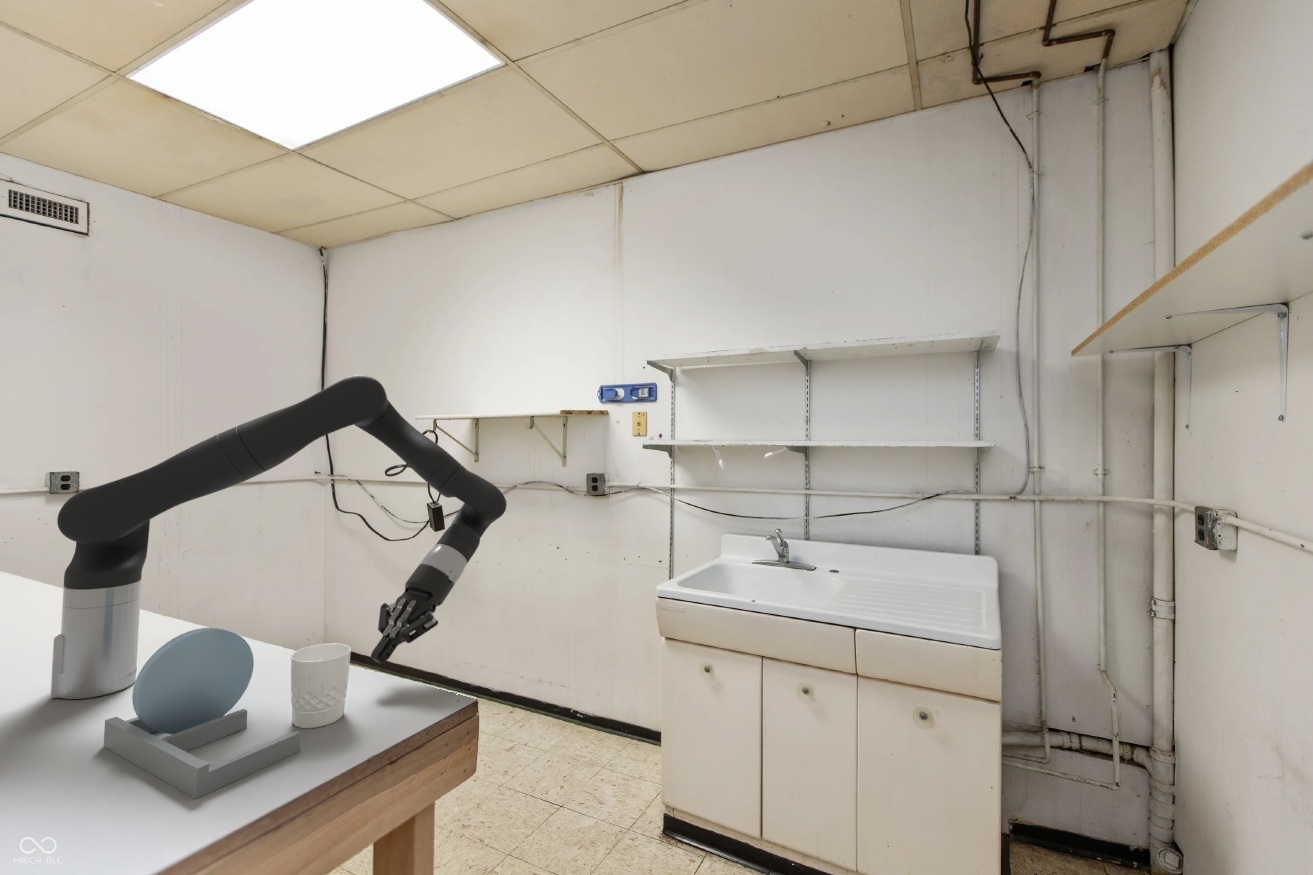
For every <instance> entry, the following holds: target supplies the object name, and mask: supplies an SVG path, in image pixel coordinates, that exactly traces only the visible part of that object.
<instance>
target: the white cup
mask: <svg viewBox="0 0 1313 875" xmlns="http://www.w3.org/2000/svg"><path fill="white" fill-rule="evenodd" d="M351 652H352V647H351V646H349V645H347V644H345V643H337V642H331V643H330V642H329V643H319V644H314V645H309V646H306V647H302V648H300V649H297V650H296V651H294V652H293V653H292V654H291V655H290V693H291V698H290V701H291V702H290V703H291V709H292V710H291V722H292V724H293V725H294V727H297V728H301V729H314V728H319V727H320V728H321V727H324V726H325V727H326V726H328V725H331V724H333V723H335V722H337V721H338V720H340V719H341V718H342V717H343V715H344V713H345V705H346V704H345V703H346V697H347V691H348V683H349V682H348V681H349V676H350V675H349V672H350V662H351Z"/></svg>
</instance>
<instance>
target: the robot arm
mask: <svg viewBox="0 0 1313 875" xmlns="http://www.w3.org/2000/svg"><path fill="white" fill-rule="evenodd" d="M387 396H388V395H387V392H386V390H385V388H384V386H383V385H382V383H381V382H380V381H379V380H377V379H376V378H374V377H371V375H370V376H369V375H365V374H354V375H350V376H345V377H344V378H342V379H340V380H338V381H336V382H334V383H333V384H331V385H329V386H327V387H326V388H324V389H322V390H320V391H319V392H316V393H315V394H313V395H311V396H309V397H308V398H304V399H303V400H300V401H299V402H297V403H295V404H292V405H290V406H287V407H284V408H280V409H278V410H275V411H272V412H269V413H267V414H264V415H261V416H260V417H257V418H254V419H251V420H249V421H246V422H243V423H241V424H239V425H235V426H234V427H232V428H229V429H227V430H224V431H221V432H220V433H218V434H214V435H213V436H211V437H209V438H206V439H205V440H203V441H200V442H198V443H196V444H194V445H192V446H190V447H188V448H187V449H184V450H182V451H180V452H178V453H176V454H175V455H173V456H171V457H169V458H167V459H165V460H163V461H162V462H160V463H157V464H156V465H154V466H152V467H149V468H147V469H144V470H141V471H139V472H136V473H133V474H131V475H128V476H125V477H122V478H118V479H116V480H113V481H110V482H107V483H104V484H101V485H97V486H95V487H94V486H93V487H90V488H87V489H84V490H82V491H79V492H77V493H75V494H74V495H72V496H71V497H70V498H68V500H67V501H66V502H64V504H62V506H61V508H60V510H59V512H58V515H57V517H56V519H57V522H56V523H57V527H58V530H59V531H60V533H61V534H62V535H63V536H64V537H66V538H67V539H69V540H70V541H73V542H75V549H74V553H73V556H72V559H71V561H70V563H69V564H68V566H67V567H66V569H65V571H64V575H63V590H62V591H63V592H62V609H61V611H62V612H61V628H60V634H58V635H56V636H55V637H54V638H53V645H52V646H53V648H52V663H51V665H52V667H51V681H50V695H49V696H50V697H49V698H50V699H58V698H59V699H65V700H79V699H81V700H82V699H89V698H94V697H101V696H105V695H110V694H113V693H116V692H119V691H122V690H124V689H126V688H128V687H130V686H132V685H134V684H135V681H136V679H137V670H138V668H137V667H138V666H137V664H138V650H139V648H138V647H139V630H140V629H139V627H140V611H141V593H142V574H143V568H144V565H145V563H146V560H147V555H148V546H149V536H150V527H151V526H150V525H151V520H152V519H153V518H155V517H157V516H159V515H161V514H162V513H165V512H166V511H169V510H171V509H173V508H175V507H177V506H180V505H182V504H185V503H187V502H191V501H193V500H196V499H200V498H203V497H205V496H208V495H213V494H214V493H217V492H221V491H222V490H223V491H224V490H226V489H228V488H231V487H234V486H236V485H238V484H241V483H244V482H245V481H248V480H250V479H252V478H255V477H257V476H259V475H261V474H263V473H265V472H267V471H270V470H271V469H273V468H275V467H277V466H279V465H281V464H282V463H284V462H285V461H287V460H288V459H290V458H291V457H293V456H295V455H296V454H298V453H299V452H300V451H302V450H303V449H304V448H306V447H307V446H309V445H311V444H312V443H313V442H314V441H317V440H319V439H320V438H322V437H324V436H327V435H329V434H331V433H334V432H336V431H339V430H342V429H344V428H347V427H350V426H355V427H357V428H359V429H361V430H363V432H366V433H367V434H369V435H370V436H371V437H373V438H375V439H376V440H378V442H381V443H382V444H383V445H384V446H386V447H387V448H389V449H390V450H391V451H392V452H393V453H394V454H396V456H398V457H399V458H400V459H401V460H403V462H404V463H406V464H407V466H408V467H410V468H411V469H412V470H413V471H414V473H416V474H417V475H418V476H420V478H421V479H422V480H424V481H425V482H426V483H427V484H428V485H429V486H431V487H432V488H433V489H435V491H437V492H438V493H439V494H440V495H441V496H443V497H445V498H456V499H458V500H459V501H461V502H462V503H463V505H462V506H461V507H460V508H459V510H458V512H457V513H456V515H455V517H454V519H453V520H452V522H451V524H450V526H449V527H448V528H447V529H446V530H445V531H444V533H443V534H442V536H441V537H440V538H439V539H438V541H437V542H436V544H434V546H433V547H432V548H431V549H430V550H429V551H428V552H427V554H426V555H425V556H424V558H422V560H421V562H420V563H419V565H417V567H416V569H415V570H414V571H413V572H412V573H411V575H410V576H409V577H408V579H407V580H406V582H405V584H404V587H405V588H404V592H403V593H402V594H401V595H400V596H398V597H397V598H396V600H395V602H393V603H391V604H389V605H388V604H387V603H386V602H384V603H382V604H381V605H380V607H379V608H380V609H379V610H380V611H379V617H378V618H379V619H378V626H377V630H378V632H380V634H382V637H381V639H380V640H379V642H377V644H376V646H375V647H374V649H373V650H372V651H371V654H370V658H371V660H373V661H374V662H375V663H378V664H382V665H383V664H385V663H386V662H387V661H388V660H389V659H390V657H391V656H392V655H393V653H394V652H395V650H396V649H397V648H398V646H400V645H402V644H403V643H406V644H411V643H412V642H414V641H415V640H417V639H419V638H420V637H422V636H423V635H425V634H426V633H427V632H429V631H431V630H432V629H434V628H435V627H437V626H438V624H439V620H438V619H437V618H436V617H435V615H434V613H435V612H436V610H437V607H439V606H441V605H442V604H443V603H444V602H445V600H446V599H447V597H448V596H449V595H450V592H451V591H452V590H453V588H454V586H455V585H456V583H457V582H458V581H459V579H460V577H461V576H462V575H463V572H464V570H465V569H466V566H467V565H468V563H469V561H470V560H471V559H472V557H473V556H474V554H475V553H476V552H477V549H478V548H479V545H480V542H481V538H482V536H483V535H484V533H485V531H486V530H487V529H488V528H489V527H490V526H491V524H492V523H494V522H495V521H497V520H499V519H500V518H502V516H503V515H504V514H505V512H506V510H507V506H508V505H507V499H506V496H505V495H504V494H503V492H502V491H501V489H499V487H497V486H496V485H494V484H493V483H491V482H490V481H488V480H487V479H485V478H483V477H481V476H480V475H478V474H476V473H473V472H471V471H469V469H467V468H466V467H465V466H464V465H462V463H460V461H458V460H457V459H456V458H455V457H453V456H452V455H451V454H450V453H449V452H448V451H446V450H445V449H444V448H443V447H441V446H440V445H439V444H438V443H436V442H435V441H433V440H432V439H430V438H429V437H428V436H426V435H425V434H423V433H422V432H420V431H419V430H418V429H416V427H414V426H413V425H412V424H410V423H409V421H407V420H406V419H405V418H404V417H403V416H402V415H401V414H400V413H399V412H398V410H397V409H396V408H395V406H393V405H392V402H390V401H389V399H388V397H387Z"/></svg>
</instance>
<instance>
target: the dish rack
mask: <svg viewBox="0 0 1313 875" xmlns="http://www.w3.org/2000/svg"><path fill="white" fill-rule="evenodd" d="M254 662H255V660H254V654H253V651H252V648H251V646H250V645H249V642H247V640H246V639H245V638H243V637H242V636H241V635H239V634H238V633H235V632H233V631H229V630H227V629H223V628H218V627H202V628H195V629H192V630H190V631H186V632H184V633H181V634H179V635H177V636H175V637H173V638H171V639H170V640H169V641H168V642H165V644H163V645H162V646H160V647H159V648H158V649H157V650H156V651H155V652H154V653H153V654H152V655H151V656H150V657H149V658H148V660H147V661H146V662H145V664H143V666H142V668H141V670H140V671H139V672H138V675H137V676H136V681H135V682H134V684H133V687H132V688H133V689H132V696H131V698H132V706H133V710H134V712H135V715H136V717H133V718H130V719H127V720H125V719H122V718H120V717H118V716H114V717H111V718H108V719H105V720H104V734H103V747H104V748H106V749H107V750H109V751H111V752H112V753H115V754H116V755H118V756H120V757H121V758H123V759H125V760H126V761H129V762H130V763H132V764H134V765H135V766H138V767H139V768H141V769H142V770H144V771H146V772H147V773H149V774H151V775H153V776H154V777H156V778H158V779H160V780H162V781H164V782H165V783H167V784H169V785H170V786H173V787H174V788H176V789H178V790H179V791H181V792H182V793H184V794H186V795H188V796H190V797H192V798H194V799H199V798H200V797H203V796H204V795H208V794H210V793H212V792H214V791H216V790H218V789H220V788H222V787H224V786H227V785H229V784H231V783H234V782H235V781H237V780H240V779H242V778H244V777H247V776H249V775H250V774H253V773H255V772H257V771H259V770H261V769H264V768H266V767H269V766H270V765H272V764H275V763H277V762H279V761H281V760H284V759H285V758H287V757H290V756H292V755H294V754H297V753H298V752H300V751H301V736H302V735H301V732H300V731H298V730H294V731H292V732H290V733H287V734H285V735H283V736H280V737H278V738H275V739H273V740H270V741H269V742H267V743H263V744H262V745H259V746H257V747H254V748H252V749H250V750H247V751H245V752H243V753H240V754H238V755H236V756H233V757H231V758H228V759H226V760H223V761H221V762H219V763H216V764H215V765H213V766H210V763H209V762H206V761H205V760H203V759H201V758H199V757H197V756H195V755H193V754H191V753H189V752H188V751H191V750H193V749H196V748H199V747H200V746H203V745H205V744H206V745H207V744H209V743H211V742H214V741H216V740H219V739H221V738H224V737H227V736H229V735H232V734H234V733H236V732H239V731H242V730H244V729H247V725H248V710H247V709H245V708H242V709H239V710H236V711H233V712H230V711H231V710H233V708H234V707H235V705H236V704H237V703H238V702H239V701H240V699H241V698H242V697H243V695H244V693H245V692H246V691H247V688H248V686H249V684H250V682H251V679H252V677H253V676H252V675H253V672H254V667H255V666H254ZM228 712H230V713H228ZM227 713H228V714H227ZM155 732H160V733H162V734H167V736H165V737H162V738H160V737H158V736H156V735H154V734H152V733H155Z"/></svg>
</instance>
